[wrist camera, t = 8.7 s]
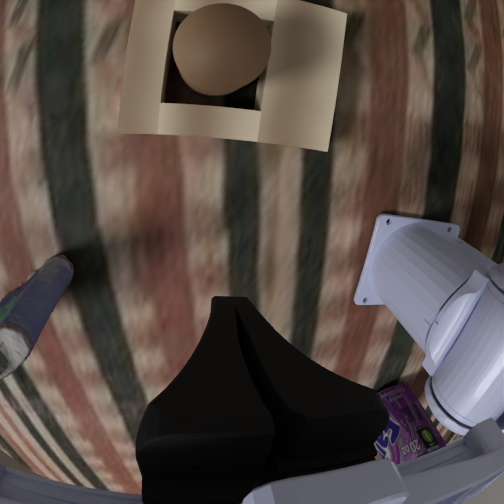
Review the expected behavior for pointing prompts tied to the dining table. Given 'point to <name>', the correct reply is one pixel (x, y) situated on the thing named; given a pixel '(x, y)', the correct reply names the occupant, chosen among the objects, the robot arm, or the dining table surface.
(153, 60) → the board
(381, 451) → the beverage can
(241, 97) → the dining table surface
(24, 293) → the flask
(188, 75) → the peg
